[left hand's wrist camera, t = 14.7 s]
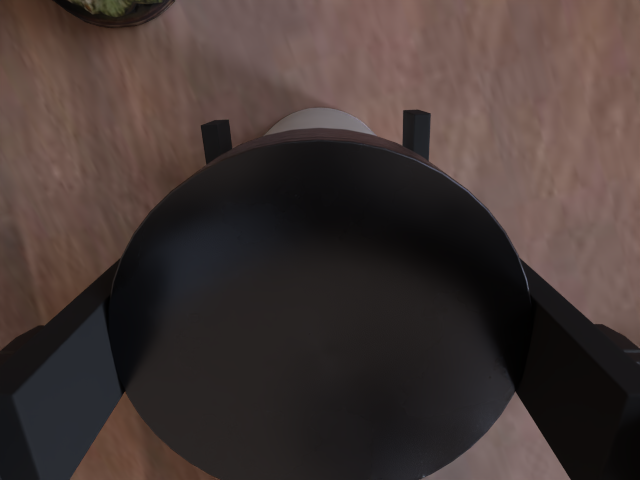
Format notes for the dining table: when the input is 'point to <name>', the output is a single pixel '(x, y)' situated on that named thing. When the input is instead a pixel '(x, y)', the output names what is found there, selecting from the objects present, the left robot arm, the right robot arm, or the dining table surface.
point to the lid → (320, 313)
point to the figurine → (115, 11)
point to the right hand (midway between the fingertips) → (315, 117)
